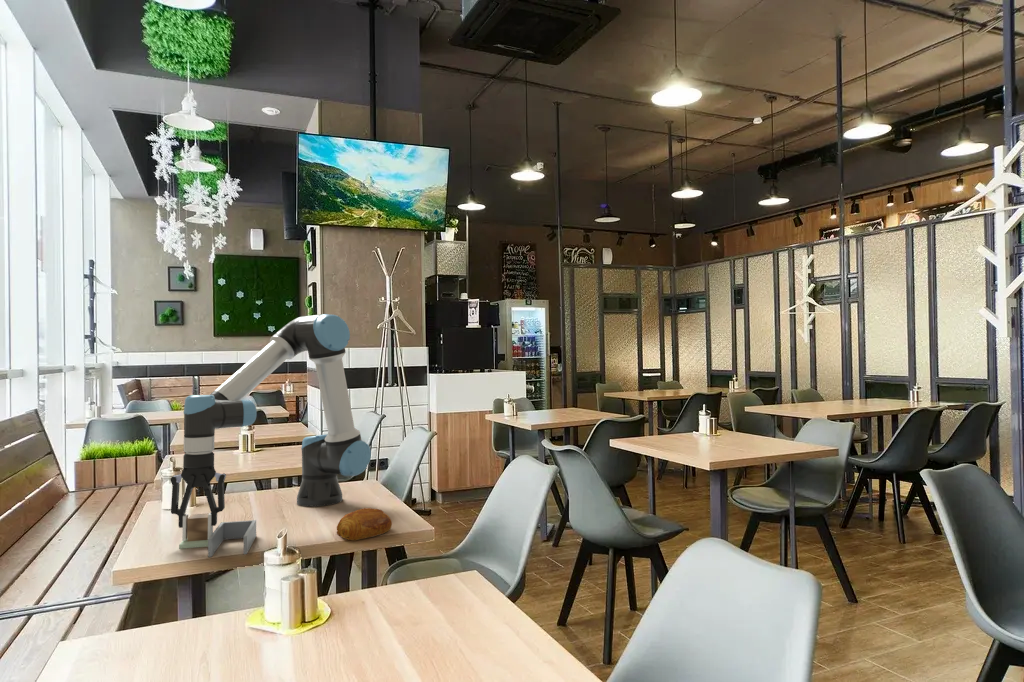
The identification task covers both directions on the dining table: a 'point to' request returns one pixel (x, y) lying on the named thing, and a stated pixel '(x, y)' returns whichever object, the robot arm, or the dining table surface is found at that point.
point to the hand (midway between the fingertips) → (197, 538)
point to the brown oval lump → (363, 524)
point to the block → (198, 527)
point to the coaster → (193, 544)
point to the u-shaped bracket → (232, 534)
